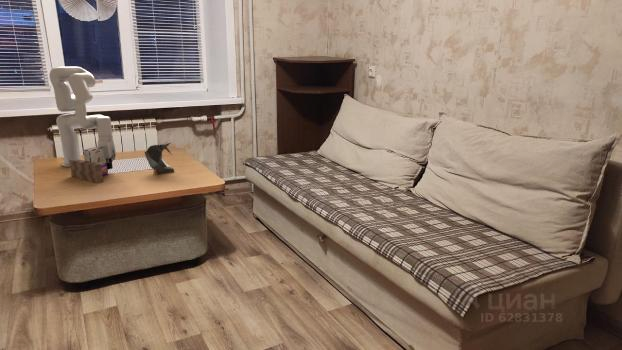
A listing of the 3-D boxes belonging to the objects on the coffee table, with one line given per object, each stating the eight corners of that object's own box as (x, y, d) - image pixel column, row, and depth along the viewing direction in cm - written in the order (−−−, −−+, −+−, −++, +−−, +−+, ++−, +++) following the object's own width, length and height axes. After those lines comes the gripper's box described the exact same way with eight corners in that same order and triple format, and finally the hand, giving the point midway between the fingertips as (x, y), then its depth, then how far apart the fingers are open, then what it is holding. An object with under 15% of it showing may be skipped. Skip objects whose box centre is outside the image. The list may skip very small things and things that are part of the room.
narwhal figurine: (146, 170, 266) (143, 141, 261) (173, 168, 271) (170, 139, 266) (146, 176, 253) (143, 146, 248) (174, 174, 258) (172, 144, 253)
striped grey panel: (71, 176, 252) (69, 159, 250) (76, 175, 255) (74, 158, 252) (98, 183, 241) (95, 165, 238) (103, 181, 243) (100, 164, 241)
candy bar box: (102, 172, 260) (98, 145, 256) (108, 173, 258) (105, 146, 254) (86, 178, 250) (82, 149, 246) (93, 179, 248) (89, 150, 244)
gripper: (91, 137, 254) (95, 168, 260) (108, 140, 247) (112, 172, 253) (102, 135, 261) (106, 165, 266) (119, 138, 254) (123, 169, 259)
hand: (109, 168), depth 259 cm, fingers closed
